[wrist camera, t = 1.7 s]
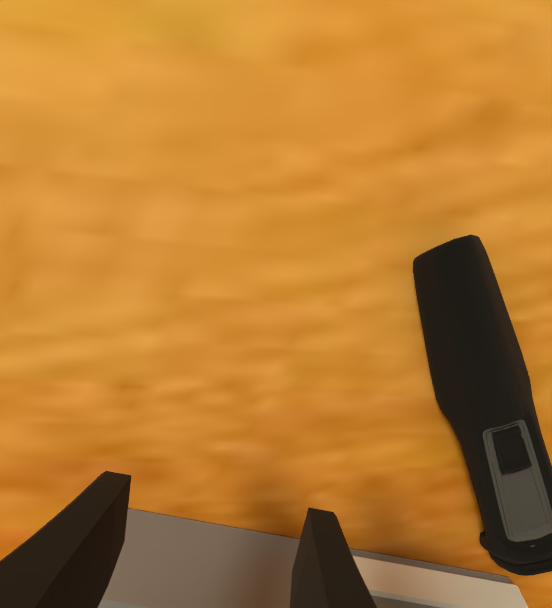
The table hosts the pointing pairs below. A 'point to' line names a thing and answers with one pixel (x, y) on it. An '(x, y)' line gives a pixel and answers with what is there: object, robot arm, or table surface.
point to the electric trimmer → (487, 401)
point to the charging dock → (271, 571)
